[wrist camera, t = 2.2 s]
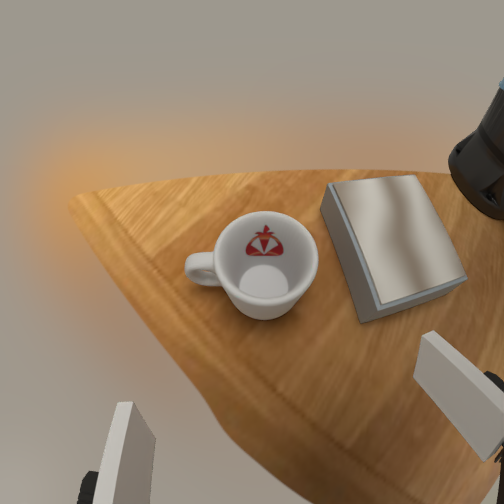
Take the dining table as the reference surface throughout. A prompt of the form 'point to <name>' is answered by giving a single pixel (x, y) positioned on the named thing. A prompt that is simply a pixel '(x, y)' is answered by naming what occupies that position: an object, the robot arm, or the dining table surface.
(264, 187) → the dining table surface
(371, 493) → the dining table surface
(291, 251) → the cup
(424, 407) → the dining table surface
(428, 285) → the grey flat block
